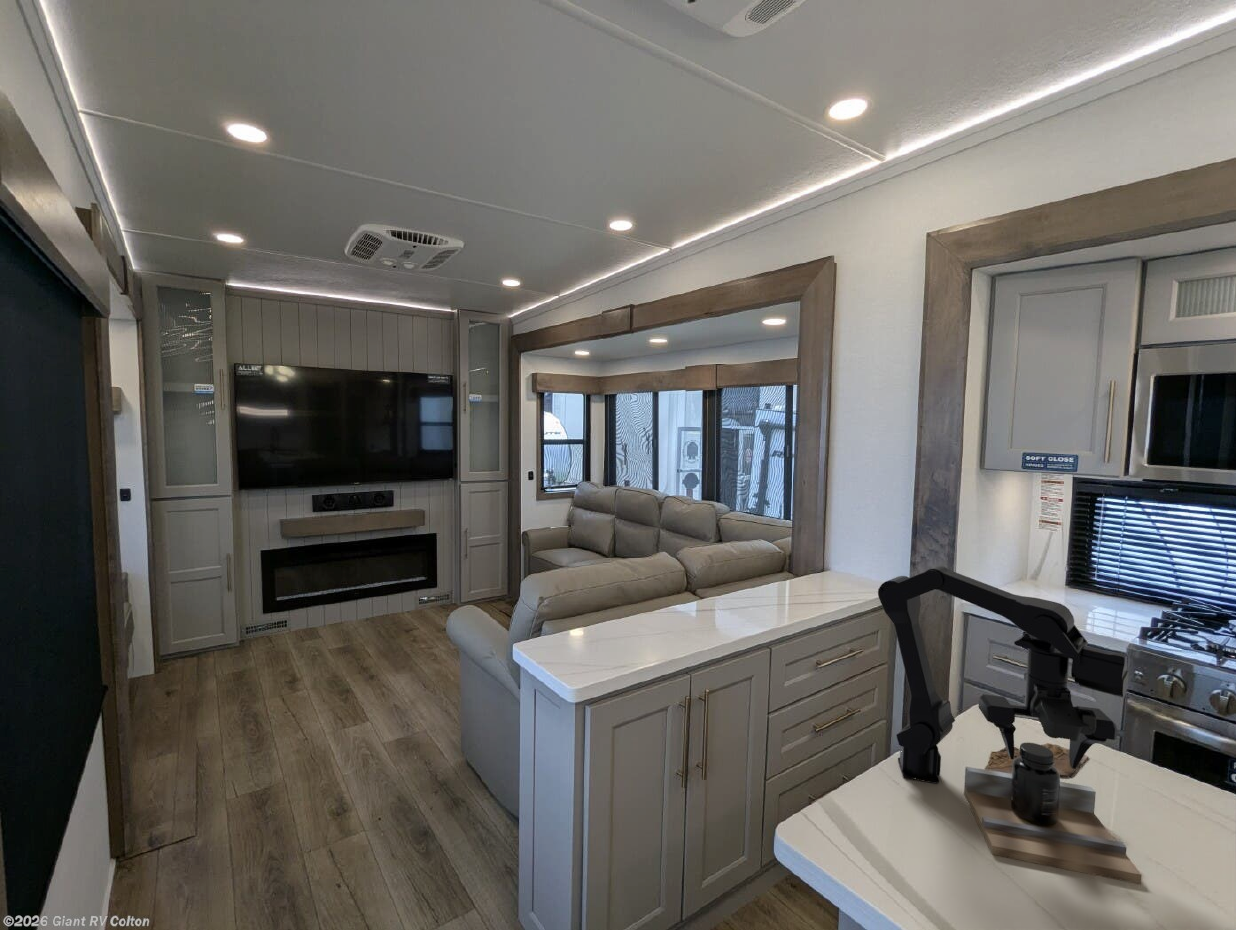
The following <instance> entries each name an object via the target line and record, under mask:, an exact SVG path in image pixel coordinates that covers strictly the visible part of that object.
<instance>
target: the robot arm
mask: <svg viewBox="0 0 1236 930" xmlns="http://www.w3.org/2000/svg"><path fill="white" fill-rule="evenodd" d="M935 590H937V591H940V592H942V593H945V594H947V595H950V596H952V597H954V598H957V599H960V600H962V601H965V602H967V603H970V604H972V605H974V606H976V607H980V608H981V609H984V610H987V611H989V612H991V613H994V614H996V615H998V616H1002V617H1003V618H1004V619H1006V620H1008V621H1010V622H1011V623H1012V624H1013V625H1015V626H1016V628H1018V629H1020V630H1021V631H1023V632H1025V634H1023V635H1022V636H1019V637H1018V638H1017V639H1016V640H1015V641H1014V642H1013V643H1014V645H1015V646H1017V647H1020V648H1025V649H1027V658H1026V659H1027V661H1026V665H1027V666H1026V673H1023V680H1024V681H1025V691H1024V692H1025V695H1022V702H1023V703H1024V705H1023V706H1022V705H1015V704H1011V703H1010V702H1009V701H1008V699H1007V698H1006V697H1005V696H1000V695H993V694H984V693H983V694H982V695H981V696H980V697H979V698H978V709H979V710H980V712H981V713H982V715H983V716H984V718H985V719H986V721H987V722H989V723H991V724H993V725H994V727H996V728H998V730H999V732H1000V735H1001V737H1002V739H1003V743H1004V746H1005V747H1006V749H1007V752H1008V755H1009V757H1010V759H1014V747H1015V731H1016V729H1017V728H1016V726H1015V725H1014V723H1016V722H1015V720H1016V718H1019V719H1028V720H1035V721H1039V723H1040V725H1041V727H1042V731H1043V732H1044V734H1045V735H1046V736H1048V737H1049V738H1052V739H1065V740H1069V748H1068V749H1069V760H1070V766H1071V767H1072V768H1073V769H1076V767H1077V766H1078V764H1079V762H1080V761H1081V759H1082V758H1083V756H1084V755H1086V753H1087V752H1088V750H1089V749H1090V748H1091V747H1092V746H1093V745H1096V744H1099V743H1106V742H1107V740H1111V741H1115V740H1117V737H1118V727H1117V724H1116V723H1115V722H1114V721H1113V720H1112V719H1111V718H1110V717H1108V716H1107V715H1106V713H1104V712H1103V711H1102V710H1101V709H1100V708H1097V707H1095V708H1094V707H1087V706H1079V705H1076V706H1073V701H1072V695H1071V693H1072V692H1071V691H1072V690H1070V689H1069V688H1068V685H1069V683H1068V682H1069V681H1068V680H1069V671H1070V670H1069V667H1070V659H1071V661H1072V663H1071V671H1070V672H1071V678H1073V679H1074V683H1077V684H1078V687H1082V688H1085V689H1089V690H1093V691H1097V692H1100V693H1103V694H1108V695H1111V696H1115V697H1119V698H1122V699H1125V697H1126V694H1127V689H1128V684H1129V673H1130V672H1129V670H1128V663H1127V654H1126V653H1122V652H1117V651H1108V650H1104V649H1100V648H1096V647H1092V646H1088V641H1087V639H1086V638H1085V637H1084V635H1083V634H1082V633H1081V631H1080V630H1079V629H1078V627H1077V626H1076V625H1075V618H1074V614H1072V612H1071V611H1070V609H1069V607H1067V606H1065V605H1064V604H1062V603H1060V602H1057V601H1053V600H1047V599H1043V598H1038V597H1031V596H1025V595H1024V596H1022V595H1018V594H1014V593H1011V592H1008V591H1005V590H1004V589H1000V588H998V587H995V586H993V585H989V584H987V583H985V582H983V581H979V580H977V579H974V578H971V577H969V576H966V575H963V574H961V573H958V572H956V571H953V570H950V569H949V568H947V567H946V566H943V565H936V566H933V567H931V568H929V569H927V570H926V571H924V572H920V573H917V574H916V575H913V576H911V577H909V576H906V575H898V576H896V577H893V578H891V579H889V580H886V581H884V582H883V583H881V585H879V588H878V590H877V595H878V600H879V601H880V604H881V607H882V610H883V612H884V613H885V614H886V615H887V617H888V618H889V620H890V622H891V623H892V624H893V626H894V631H895V635H896V639H897V642H898V643H897V644H898V647H899V651H900V655H901V659H902V664H903V668H904V673H905V677H906V680H907V686H908V689H909V693H910V699H909V706H908V724H907V725H906V726H904V727H903V728H902V729H901V730H900V731H898V733H896V739H897V743H898V745H899V746H900V749H899V750H900V753H899V757H897V763H898V766H899V767H900V772H901V774H902V777H903V776H904V777H903V778H905V777H906V778H905V779H909V778H916V779H919V780H918V781H921V780H924V781H923V782H927V781H930V782H929V783H932V784H933V783H934V784H939V783H940V779H939V777H940V776H941V766H942V765H941V762H942V756H941V753H940V751H939V747H938V744H939V743H940V742H942V741H943V739H945V737H946V736H948V735H949V734H950V732H951V731H952V730H953V726H954V725H953V723H955V722H956V719H955V717H954V715H953V713H952V707H951V702H950V700H949V699H948V700H942V699H941V696H940V695H939V694H938V693H937V691H936V687H935V684H934V680H933V675H932V670H931V667H930V663H929V662H930V661H929V658H928V655H927V650H926V647H925V646H926V645H925V642H924V638H923V634H922V633H923V632H922V629H921V625H920V620H919V619H920V613H921V606H922V605H921V604H922V603H921V595H922V596H923V595H924V594H926V593H929V592H931V591H932V592H933V591H935ZM901 751H902V752H901ZM1076 770H1077V769H1076Z"/></svg>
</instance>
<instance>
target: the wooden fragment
mask: <svg viewBox="0 0 1236 930" xmlns="http://www.w3.org/2000/svg"><path fill="white" fill-rule="evenodd" d="M1041 745H1042V746H1044V747H1046V748H1048V749H1050V750H1051V751H1052V752H1053V754H1054V758H1053V761H1054V765H1053V766H1054V767H1055V768H1056V769H1057V771H1058V772H1059V775H1060V776H1067V777H1072V775H1073V774H1074V772H1076V770H1078V768H1079V767H1080V766H1081V765H1083V763H1084V762H1085V761H1086V760H1087V759H1089V756H1088V755H1086V754H1084V756H1083V758H1082V759H1081V761H1080V762H1079V764H1078V766H1077V767H1076V769H1073V768H1072V767H1071V766H1070V760H1069V749H1070V748H1065V747H1063V746H1061V745H1058V744H1052V743H1049V742H1047V743H1045V744H1041ZM1019 752H1020V748H1017V747H1015V746H1014V759H1016V758H1017V757H1020V756H1019ZM1014 759H1010V757H1009V755H1008V752H1007V749H1006V746H1005V747H1004V748H1001V749H1000V750H998V751H993V750H992V751H991V752H990V756H989V758H988V762H987V765H986V766H985V767H984V769H985V770H991V771H997V772H1003V773H1009V774H1012V764H1013V761H1014Z"/></svg>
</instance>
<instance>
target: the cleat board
mask: <svg viewBox="0 0 1236 930" xmlns="http://www.w3.org/2000/svg"><path fill="white" fill-rule="evenodd" d="M1011 785H1012V774H1009V773H1003V772H997V771H991V770H985V768H984V769H983V768H977V767H972V766H965V771H964V785H963V786H964V789H963V795H964V797H965V799H966V801H968V802H967V804H968V803H969V804H968V805H969V807H970V808H969V809H970V810H971V812H972V815H973V816H974V819H975V821H976V823H977V825H978V827H979V829H980V832H981V833H982V836H983V838H984V841H985V843H986V845H987V846H988V847H987V848H989V851H990V853H991V855H992V856H998V857H1004V858H1009V859H1014V860H1019V861H1023V862H1024V861H1025V862H1028V863H1033V864H1038V865H1043V866H1048V867H1053V868H1059V869H1064V870H1068V871H1073V872H1079V873H1083V874H1089V875H1093V876H1094V875H1095V876H1099V877H1104V878H1109V879H1113V880H1120V881H1123V882H1129V883H1134V884H1140V885H1142V873H1141V872H1140V870H1139V869H1138V868H1137V867H1136V866H1135V864H1134V863H1133V862H1132V861H1131V859H1130V858H1129V856H1128V855H1127V850H1128V849H1127V846H1126V845H1125V844H1124V843H1123V841H1117V840H1115V839H1114V837H1113V836H1112V834H1110V832H1109V830H1108V829H1107V828H1106V827H1105V825H1104V824H1103V822H1101V820H1100V819H1099V818H1098V817H1097V815H1096V814H1095V808H1096V806H1095V805H1096V795H1097V794H1096V790H1095V789H1094V788H1093V787H1092V786H1090V785H1089V786H1088V785H1083V784H1076V783H1070V782H1066V781H1065V782H1063V781H1060V791H1059V813H1058V821H1057V823H1056V824H1055V825H1053V826H1039V825H1035V824H1032V823H1029V822H1027V821H1025V820H1023V819H1022V818H1020V817H1019V816H1018V815H1016V814H1015V812H1014V811H1013V810H1012V807H1011Z"/></svg>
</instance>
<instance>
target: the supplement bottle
mask: <svg viewBox="0 0 1236 930" xmlns="http://www.w3.org/2000/svg"><path fill="white" fill-rule="evenodd" d="M1019 745H1020V746H1019V749H1020V752H1019V756H1020V757H1017V758H1016V759H1014V761H1013V764H1012V785H1011V807H1012V810H1013V811H1014V812H1015V814H1016V815H1018V816H1019V817H1020V818H1022V819H1023V820H1025V821H1027V822H1029V823H1032V824H1035V825H1039V826H1053V825H1055V824H1056V823H1057V821H1058V813H1059V791H1060V782H1061V775H1059V772H1058V771H1057V769H1056V768H1055V767H1054V766H1053V765H1054V761H1053V758H1054V754H1053V752H1052V751H1051V750H1050V749H1048V748H1046V747H1044V746H1042V745H1043V744H1038V743H1035V742H1023V743H1021V744H1019Z"/></svg>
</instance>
